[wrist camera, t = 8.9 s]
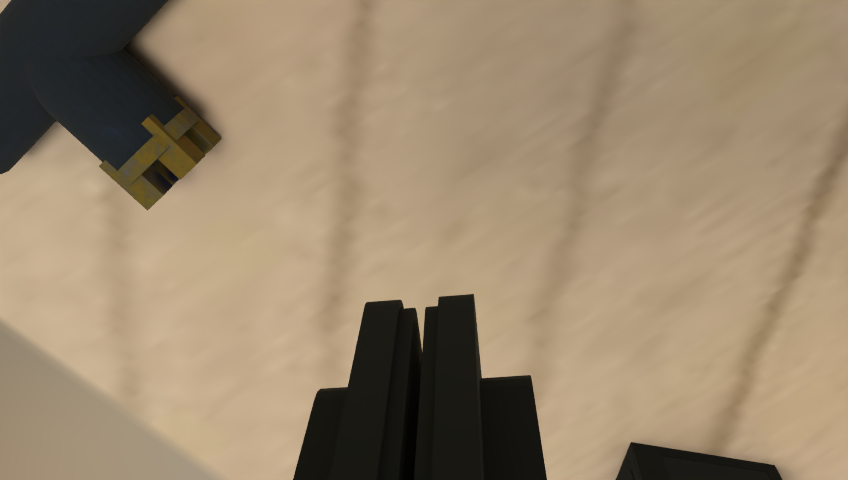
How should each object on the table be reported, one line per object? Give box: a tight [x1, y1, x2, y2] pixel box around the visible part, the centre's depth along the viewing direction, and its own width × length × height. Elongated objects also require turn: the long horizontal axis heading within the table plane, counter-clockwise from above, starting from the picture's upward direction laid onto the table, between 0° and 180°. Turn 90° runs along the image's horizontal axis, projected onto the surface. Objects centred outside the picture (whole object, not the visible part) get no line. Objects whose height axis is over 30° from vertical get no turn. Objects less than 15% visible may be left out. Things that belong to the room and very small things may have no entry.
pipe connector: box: [0, 0, 221, 210], centre depth 37 cm, size 12×5×15 cm
